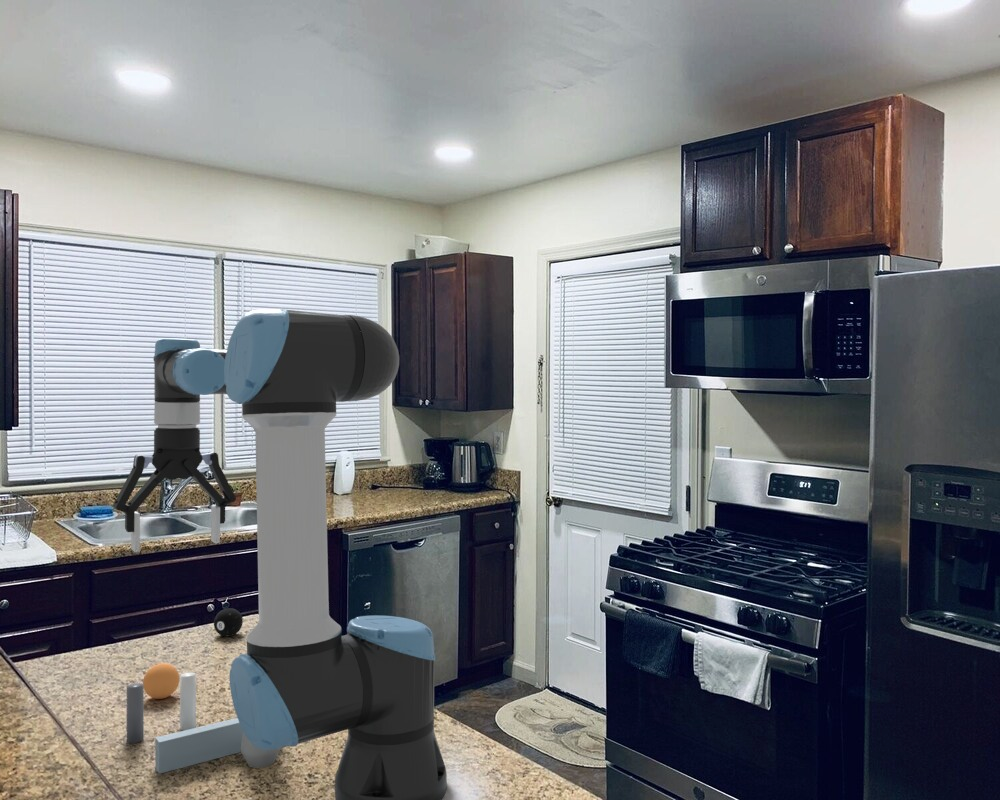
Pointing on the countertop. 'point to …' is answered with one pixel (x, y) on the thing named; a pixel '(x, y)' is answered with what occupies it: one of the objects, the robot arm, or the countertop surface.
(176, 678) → the ball
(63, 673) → the countertop surface
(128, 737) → the charcoal pin
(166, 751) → the board
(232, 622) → the billiard ball
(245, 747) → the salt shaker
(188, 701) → the white pin
